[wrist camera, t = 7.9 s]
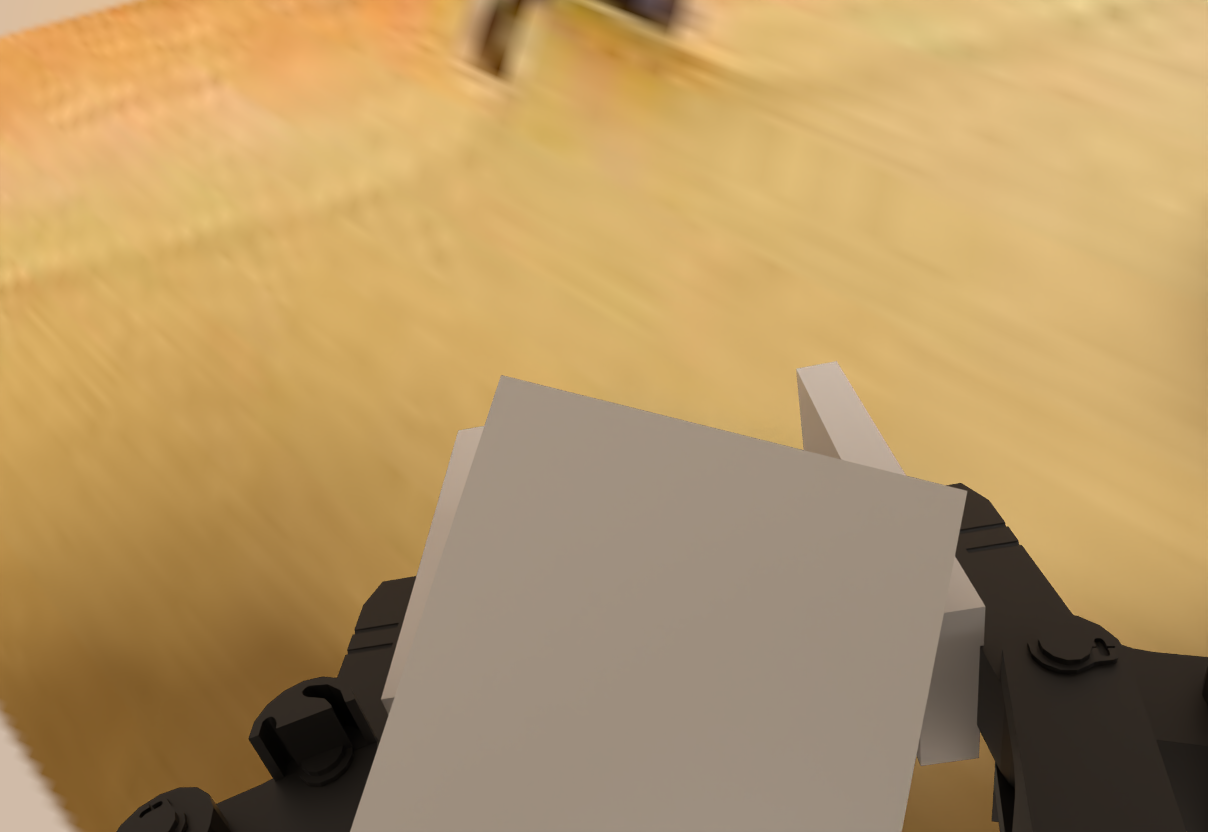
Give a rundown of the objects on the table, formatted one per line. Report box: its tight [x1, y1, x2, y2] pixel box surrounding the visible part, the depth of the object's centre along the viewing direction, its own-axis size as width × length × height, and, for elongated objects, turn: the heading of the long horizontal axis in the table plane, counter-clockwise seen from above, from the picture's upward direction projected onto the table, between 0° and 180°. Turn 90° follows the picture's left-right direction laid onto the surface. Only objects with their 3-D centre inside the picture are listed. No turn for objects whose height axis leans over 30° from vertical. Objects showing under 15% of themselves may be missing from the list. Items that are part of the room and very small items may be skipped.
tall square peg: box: [350, 375, 967, 832], centre depth 13 cm, size 4×4×12 cm
